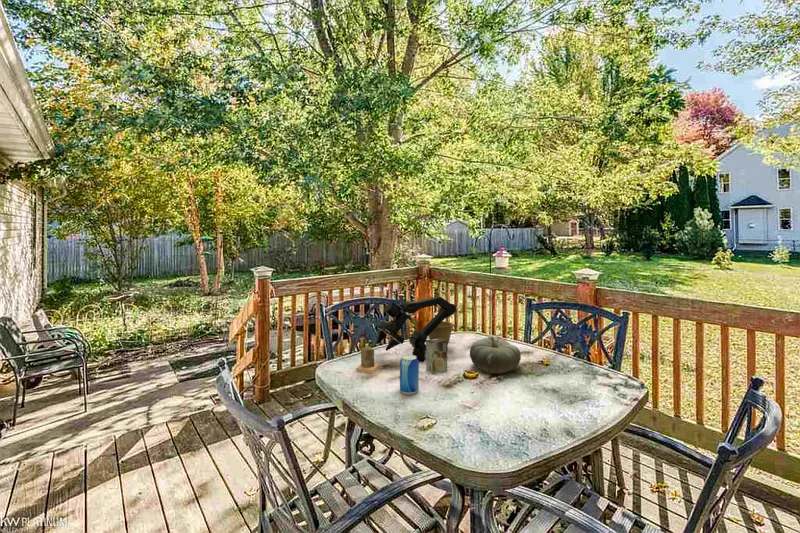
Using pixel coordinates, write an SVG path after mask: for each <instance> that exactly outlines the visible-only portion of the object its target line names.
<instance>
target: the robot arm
mask: <svg viewBox="0 0 800 533" xmlns="http://www.w3.org/2000/svg"><path fill="white" fill-rule="evenodd" d="M436 305H438V306H439V310H438V312H437V313H436V314H435V315H434V316H433V318H432V319H431V320H430V321H429V323H428V322H427V323H428V324H427V323H426V325H425V326H424V327H423V328H422V329H421V330H419V331H418V330H414V332H413V333H412V334H410V336H409V341H408V342H409V344H410V345H411V346H412V348H413V349H412V350H413V351H412V354H411V355H415V356H416V357H417V360H418V361H419V363H420V362H421V363H425V362H426V340H428V338H429V334H430V333H431V332H432V331H433V330H434V329H435V328H436V327H437V326H438V325H439V324H440V323H441V322H442V321H444V320H445V319H448V318H451V316H453V315H455V313H456V312H457V306H456V304H454V303H451V302H449V301H448V300H446V299H445V298H444V297H443V296H440V295H436V296H434V297H428V298H424V299H421V300H406V301H404V302H403V303H402V304H398V305H397V303H395V302H394V301H391V302H390V303H387V305H386V306H384V309H383V312H384V313H386V314H387V315H388V316H389V317H391V318H392V319H391V320H390V321H387V320H381V321H380V323H379V324H378V325H377V330H378V336H377V340H376V342H375V344H376V345H378V344H380V343H381V342H382V341H384V339H385V338H386V337H387V336H388V335H390V341H389V342H388V344H387V345H386V347H385V351H389V350H391V349H392V348H394V347H396V346H398V345H403V344H404V342H405V338H404V337H402V335H400V334H399V332H400V330H404V328H403V325H404V324H405V323H406V322H407V320H409V321H412V314H414V313H417V312H418V311H419V310H421V309H425V308H428V307H432V306H436ZM393 318H394V319H393Z"/></svg>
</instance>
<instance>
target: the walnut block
mask: <svg viewBox="0 0 800 533" xmlns="http://www.w3.org/2000/svg"><path fill="white" fill-rule="evenodd" d="M360 363H361V364H360V365H362V366H363V367H365V368H369V367H373V366H374V364H375V348H373V347H371V346H366V347H361V348H360Z"/></svg>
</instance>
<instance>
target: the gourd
mask: <svg viewBox="0 0 800 533" xmlns="http://www.w3.org/2000/svg"><path fill="white" fill-rule="evenodd" d="M469 350H470V351H469V357H470V359H471V362H472V363H473V365H475V366H476V367H477V368H479V369H481V370H482V371H484V372H486V373H490V374H496V375H499V374H505V373H507V372H511V371H514V370H515V369H516V368H517V367H518V366H519V364H520V362H521V357H522V356H521V351H520V349H519V348H518V347H517V346H516V345H514V344H510V342H508V341H506V340H505V339H504V338H503V339H502V338H499V337H497V336H494V335H489V336H488V337H484V338H481V339H478V340H476V341H475V342H474V343H472V345H471V346H470V349H469Z"/></svg>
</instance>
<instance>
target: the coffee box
mask: <svg viewBox="0 0 800 533" xmlns="http://www.w3.org/2000/svg"><path fill="white" fill-rule="evenodd" d="M425 344H426V360H425V371H426V372H428V373H430V374H431V375H434V374H439V373H445V372H448V346H447V340H444V339H442V338H436V339H426V342H425Z"/></svg>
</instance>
